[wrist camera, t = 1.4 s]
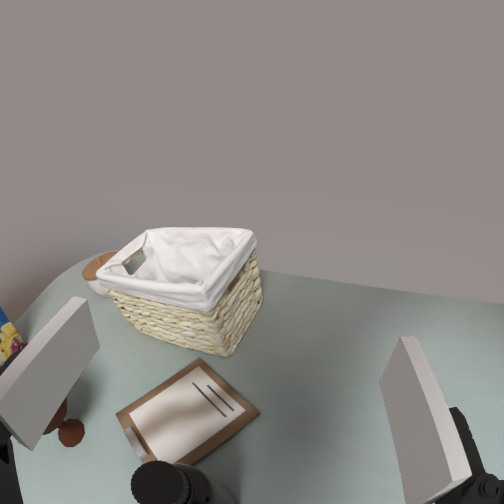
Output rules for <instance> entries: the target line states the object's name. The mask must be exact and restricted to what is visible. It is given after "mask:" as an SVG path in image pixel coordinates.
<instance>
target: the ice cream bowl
mask: <svg viewBox="0 0 504 504" xmlns="http://www.w3.org/2000/svg"><path fill="white" fill-rule="evenodd" d="M66 413H67V399H66V397H65V399H64V401H63V402H62V404H61V405H60V407H59V408H58V410H57V411H56V413H55V415H54V416H53V418H52V419H51V421H50V423H49V424H48V426H47V428H46V429H45V431H44V433H43V434H42V435H46V434H49V433H51V432H52V431H53V430H55V429H56V428H59V431H58V435H59V440H60V441H61V443H62V444H63V445H64V446H65V447H74V446H75V445H77V444H78V443H80V442H81V440H82V438H83V436H84V433H85V432H84V425H83V424H82V423H81V422H80V421H79V420H77V419H68V420H67V421H64V420H63V419H64V417H65V415H66Z"/></svg>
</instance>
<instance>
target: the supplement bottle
mask: <svg viewBox="0 0 504 504" xmlns="http://www.w3.org/2000/svg"><path fill="white" fill-rule="evenodd" d="M131 490H132V494H133V495H134V498H135V499H136V500H137V502H138V503H140V504H237V502H236V500H235V498H234V496H233V495H232V494H231V493H230V491H228V490H227V489H226V488H224V487H223V486H222V485H220V484H219V483H217V482H216V481H214V480H213V479H211V478H210V477H208V476H207V475H206V474H204V473H203V472H201V471H200V470H198V469H196V468H194V467H192V466H190V465H186V464H180V463H174V464H171V463H168V462H166V461H162V460H160V461H157V460H155V461H150V462H146V463H145V464H142V465H141V467H139V468H138V469H137V470H136V471H135V473H134V474H133V476H132V479H131Z"/></svg>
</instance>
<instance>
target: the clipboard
mask: <svg viewBox="0 0 504 504" xmlns="http://www.w3.org/2000/svg"><path fill="white" fill-rule="evenodd" d="M259 415H260V412H259V411H257V410H256V409H255V408H254V407H253V406H252V405H250V404H249V403H248V402H247V401H246V400H244V399H243V398H242V397H241V396H240V395H239V394H238V393H236V392H235V391H234V390H233V389H232V388H231V387H230V386H229V385H227V384H226V383H225V382H224V381H223V380H222V379H221V378H220V377H219V376H218V375H216V374H215V373H214V372H213V371H212V370H211V369H210V368H209V367H208V366H207V365H206V364H205V363H204V362H203V361H202V360H201V359H200V358H198V359H196V360H195V361H194V362H192V363H191V364H189V365H188V366H186V367H185V368H184V369H182V370H181V371H179V372H178V373H176V374H175V375H173V376H172V377H171V378H169V379H168V380H166V381H165V382H163V383H162V384H160V385H159V386H157V387H156V388H154V389H153V390H151V391H150V392H148V393H147V394H145V395H144V396H142V397H141V398H139V399H138V400H136V401H135V402H133V403H132V404H130V405H129V406H127V407H125V408H124V409H122V410H121V411H119V412H118V413H116V416H117V418H118V420H119V422H120V424H121V426H122V427H123V429H124V431H123V432H124V433H125V435H126V437H127V439H128V441H129V442H130V444H131V446H132V448H133V449H134V451H135V453H136V454H137V456H138V457H139V458H140V459H141V460H142V462H143V463H144V464H145V463H146V462H150V461H155V460H157V461H160V460H162V461H166V462H168V463H171V464H174V463H180V464H186V465H190V466H193V465H195V464H196V463H198V462H199V461H201V460H202V459H204V458H205V457H206V456H208V455H209V454H210V453H212V452H213V451H215V450H216V449H217V448H219V447H220V446H221V445H223V444H224V443H225V442H227V441H228V440H229V439H231V438H232V437H233V436H234V435H236V434H237V433H238V432H239V431H241V430H242V429H243V428H244V427H246V426H247V425H248V424H249V423H251V422H252V421H253V420H254V419H255V418H257V417H258V416H259Z"/></svg>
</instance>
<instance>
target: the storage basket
mask: <svg viewBox="0 0 504 504" xmlns="http://www.w3.org/2000/svg"><path fill="white" fill-rule="evenodd" d="M256 244H257V240H256V238H255V236H254V234H253V232H252V231H251V230H247V229H238V228H220V227H205V228H204V227H202V228H188V227H187V228H185V227H166V228H155V229H151V230H150V229H148V230H146V231H145V232H144V233H143V234H141V235H140V236H138V237H137V238H136V239H134V240H133V241H132V242H130V243H129V244H128V245H126V246H125V247H124V248H123V249H122V250H120V251H119V252H118V253H117V254H115V255H114V256H113V257H112V258H111V259H109V260H108V261H107V262H106V264H104V265H103V266H102V267H101V268H100V269H98V270H97V272H96V276H97V279H98V282H99V284H100V286H101V287H104V289H105V291H106V292H107V294H108V295H109V296H110V297H111V298H112V299H113V301H114V303H115V304H116V306H117V308H118V309H119V310H120V311H121V313H122V314H123V316H124V317H125V318H126V320H127V321H128V322H129V324H130V325H131V326H132V328H133V329H134V330H136V331H139V332H140V333H143V334H146V335H149V336H152V337H155V338H156V339H158V340H161V341H166V342H168V343H171V344H175V345H179V346H181V347H183V348H191V349H192V350H193V349H194V350H197V351H203V352H205V353H207V354H211V355H213V354H214V355H218V356H221V357H229V356H230V355H232V354H233V352H234V351H235V349H236V347H237V345H238V343H239V342H240V341H241V339H242V337H243V335H244V333H245V332H246V331H247V329H248V328H249V326H250V323H251V322H252V321H253V319H254V317H255V315H256V313H257V312H258V311H259V309H260V307H261V304H262V301H263V296H262V295H263V294H262V288H261V279H260V277H259V274H260V270H259V267H258V265H257V264H258V262H257V259H256V253H255V246H256ZM141 251H142V255H143V256H145V259H146V261H145V262H144V263H143V264H142V265H141V266H140V267H139V268H138V270H137V271H136V272H135V273H134V274H132V275H129V274H128V273H127V271H126V270H125V268H124V266H125V265H126V264H128V263H129V262H130V261H131V260H132V259H133V258H135V257H136V256H137V255H138V254H139V253H140V252H141ZM257 303H259V304H257Z"/></svg>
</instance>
